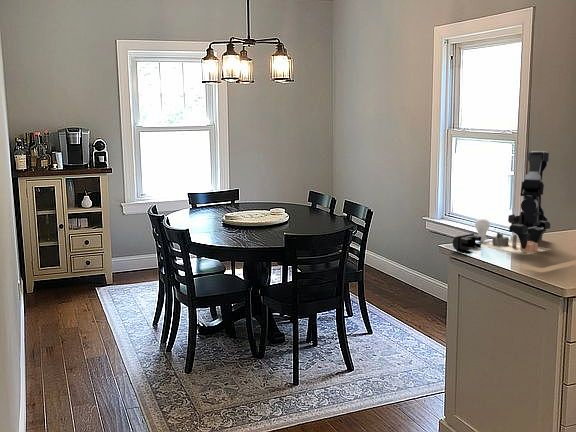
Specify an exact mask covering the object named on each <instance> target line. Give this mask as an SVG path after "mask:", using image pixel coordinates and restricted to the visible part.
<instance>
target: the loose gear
mask: <svg viewBox="0 0 576 432" xmlns="http://www.w3.org/2000/svg"><path fill="white" fill-rule="evenodd" d="M519 243H520V242H519ZM538 244H539V242H538V243H535V242H532V241H530V240H528V241H527V245H526V247H525V249H522V246H521V243H520V250H523V251H528V252H536V251H537V250H538V247H539V245H538Z"/></svg>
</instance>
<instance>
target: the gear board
mask: <svg viewBox="0 0 576 432" xmlns="http://www.w3.org/2000/svg"><path fill="white" fill-rule="evenodd" d="M517 238H518V235H517V234H516V233H514V234H513V235H512V240H510V237H509V236H505V235H503V233H500V232H496V235H494V236H492V241H488V242H481V243H480V244H481V247H486V248H491V249H494V250H498V251H499V250H500V251H503V252H508V253H512V254H519V255H523V256H528V255H531V254H536V253H541V252H546V251H551V250H552V248H546V247H543V246H538V250H537V251H536V252H528V251H523V250H520V242H518V241H517V240H518V239H517Z"/></svg>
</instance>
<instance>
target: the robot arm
mask: <svg viewBox="0 0 576 432" xmlns="http://www.w3.org/2000/svg"><path fill="white" fill-rule="evenodd" d="M550 154H551V153H549V152H548V151H547V150H545V151H544V150H532V151H530V152H527V162H528V163H529V170H528V173H527V174H525V175H524V177H523V180H522V181H521V187H520V188H521V189H520V197H524V198H523V200H522V201H521V204H520V209H521V210H522V211H520V214H519V215H515V214H510V215H508V217H507V222H508V223H509V224H511V225H509V228H508V229H509V233H510V232H511V233H514V234H515V235H517V238H518V239H519V243H521V246H522V249H525V247H526V245H527V241H531V242H535V243H538V244H539V242H540V241H542V242H544V240H543V236H544V234H545V233H546V231H547V230H548V229H551V223H550V221H548V218H547V215H546V213H545V212H546V211H545V209H544V208H543V206H542V200H543V199H542V197H543V195H544V191H545V184H544V181H543V180H544V171H545V170H546V168H547V167H548V164H549V163H550V157H551V155H550Z"/></svg>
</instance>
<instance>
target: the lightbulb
mask: <svg viewBox="0 0 576 432" xmlns="http://www.w3.org/2000/svg"><path fill="white" fill-rule="evenodd" d="M490 226H491V224H490V220H488V219H487V218H485V217H480V218H477V219H476V221H475V223H474V227H475V228H476V231H477V236H479V237H481V241H479V242H480V243H485V241H486V236H487V232H488V230H489V229H490Z"/></svg>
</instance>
